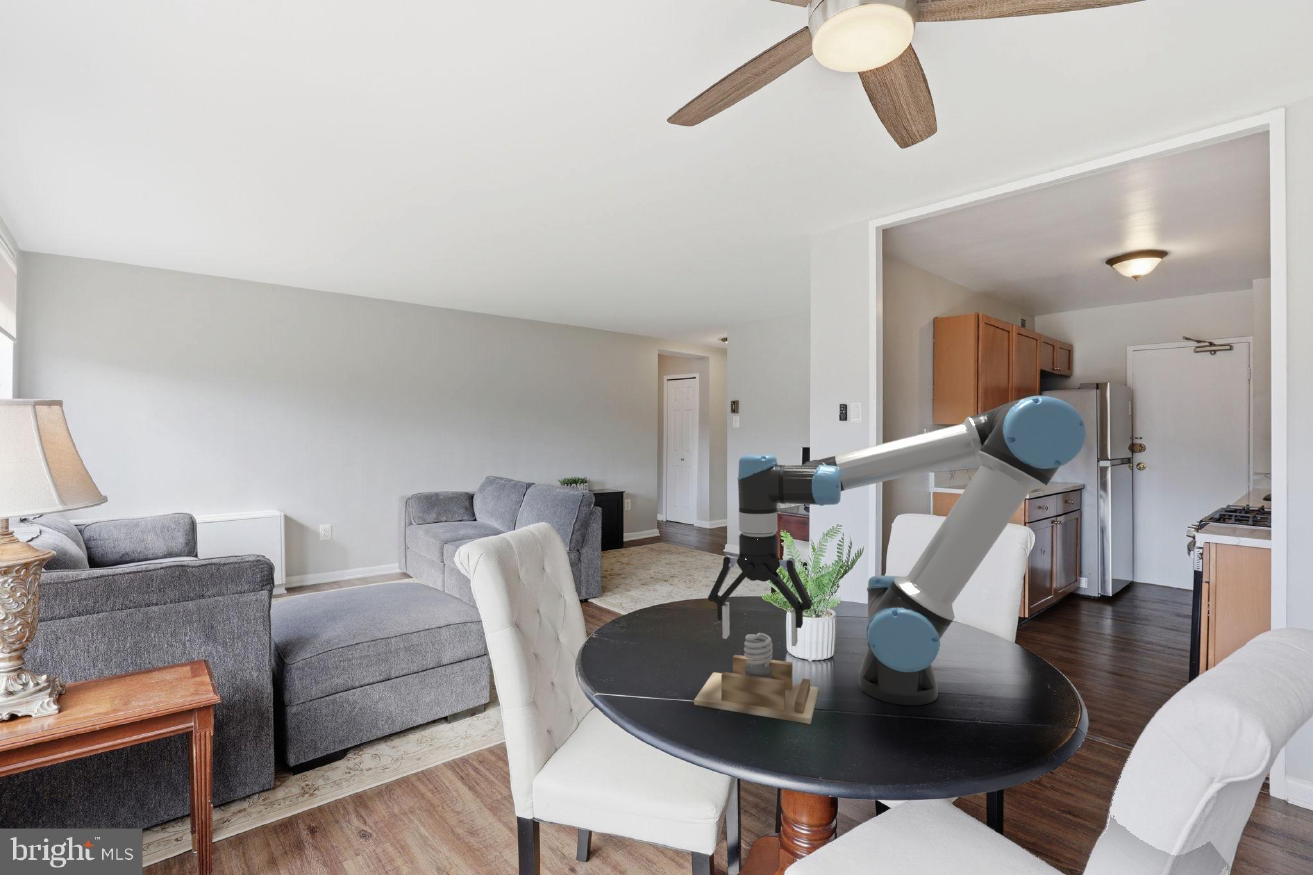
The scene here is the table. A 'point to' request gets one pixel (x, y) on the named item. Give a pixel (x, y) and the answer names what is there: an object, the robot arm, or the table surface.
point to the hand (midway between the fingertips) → (759, 640)
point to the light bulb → (758, 655)
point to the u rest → (760, 692)
